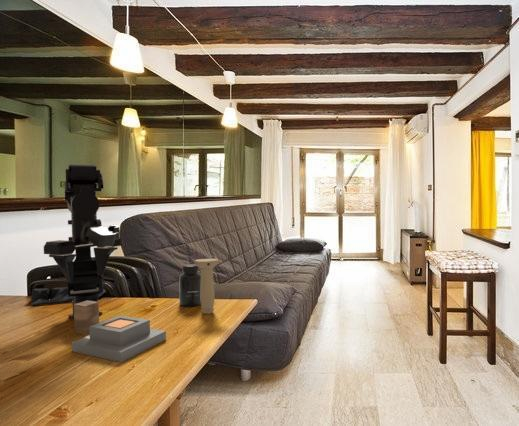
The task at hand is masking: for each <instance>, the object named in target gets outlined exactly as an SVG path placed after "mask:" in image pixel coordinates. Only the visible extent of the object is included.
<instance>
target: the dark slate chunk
mask: <svg viewBox="0 0 519 426" xmlns="http://www.w3.org/2000/svg"><path fill="white" fill-rule="evenodd" d="M97 288H98V287H97ZM70 291H73V290H70ZM105 293H106V290H105V289H104V288H103V292H102V293H101V294H97V299H99V298H100V297H102V296H103V294H105ZM49 299H50V300H49ZM30 300H31V302H30V303H31V304H30V305H31V306H33V305H39V306H42V305H41V304H48V305H54V304H53V303H58V304H64V303H63V302H65V303H70V302H69V301H72V297H68V286H65V287H64V286H63V287H52V288H47V287H46V288H34V289H32V290H31V298H30Z"/></svg>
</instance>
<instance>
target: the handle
mask: <svg viewBox="0 0 519 426" xmlns="http://www.w3.org/2000/svg"><path fill="white" fill-rule="evenodd" d="M194 264H195V265H196V266H198V269H199V268H200V275H201V286H200V297H201V298H200V299H201V304H200V305H201V313H202V314H204V315H210V314H214V312H215V311H214V309H215V308H214V305H215V283H214V282H215V281H214V268H215V267H216V266H217V265H219V259H217V258H200V259H198V258H197V259H195V260H194Z"/></svg>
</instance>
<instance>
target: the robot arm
mask: <svg viewBox="0 0 519 426" xmlns="http://www.w3.org/2000/svg"><path fill="white" fill-rule="evenodd" d="M103 181H104V179H103V174H102V172H101V170H100V169H99V168H97V165H96V164H85V163H84V164H81V163H80V164H78V163H77V164H75V163H74V164H73V163H69V164H68V168H65V181H64V182H63V183H64V202H67V209H68V211H69V212H70V214H71V215H70V216H71V219H68V220H67V225H69V226H71V236H68V240H62V239H61V240H59V239H58V240H50V241H46V242H45V244H44V245H43V254H44V255H48V257H49V258H53V260H54V261H55V263H56V264H57V265H58V267H59V269H60V270H61V272H62V274H63V276H64V277H65V279H66V281H67V287H68V297H72V301H73V302H72V313H71V314H68V316H67V318H71V319H74V304H77V303H80V302H83V301H87V300H88V301H95V302H99V298H97V294H101V293H102V292H103V289H104V273H105V270H106V268H107V265H108V261H109V259H110V256H111V254H112V253H113V252H114V251H116V250H118V247H120V246H121V247H122V238H121V237H120V236H121V231H120V229H121V228H120V226H119V225H116V224H114V225H113V224H112V225H108V226H109V227H108V226H106V227H104V226H103V224H102V220H101V219H98V216H97V213H98V211H99V209H100V201H99V199H98V197H97V195H96V193H98V192H102V189H104V182H103ZM91 248H93V253H94V258H95V259H94V258H93V257H92V249H91ZM97 287H98V288H97ZM70 290H73V291H70ZM102 314H103V311H100V310H99V316H100V315H102Z"/></svg>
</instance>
